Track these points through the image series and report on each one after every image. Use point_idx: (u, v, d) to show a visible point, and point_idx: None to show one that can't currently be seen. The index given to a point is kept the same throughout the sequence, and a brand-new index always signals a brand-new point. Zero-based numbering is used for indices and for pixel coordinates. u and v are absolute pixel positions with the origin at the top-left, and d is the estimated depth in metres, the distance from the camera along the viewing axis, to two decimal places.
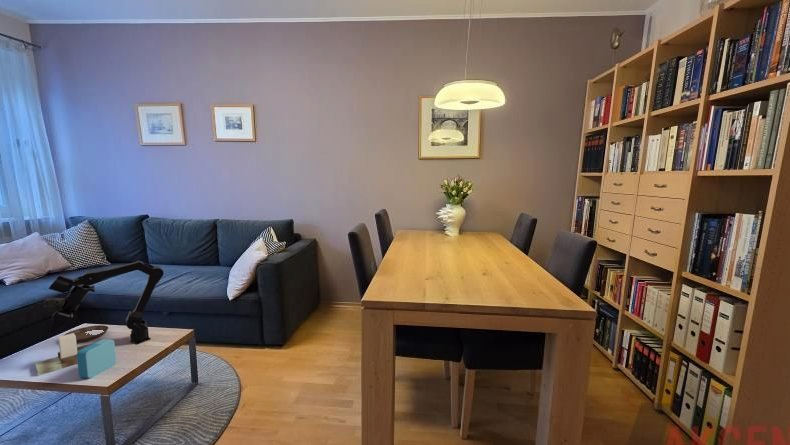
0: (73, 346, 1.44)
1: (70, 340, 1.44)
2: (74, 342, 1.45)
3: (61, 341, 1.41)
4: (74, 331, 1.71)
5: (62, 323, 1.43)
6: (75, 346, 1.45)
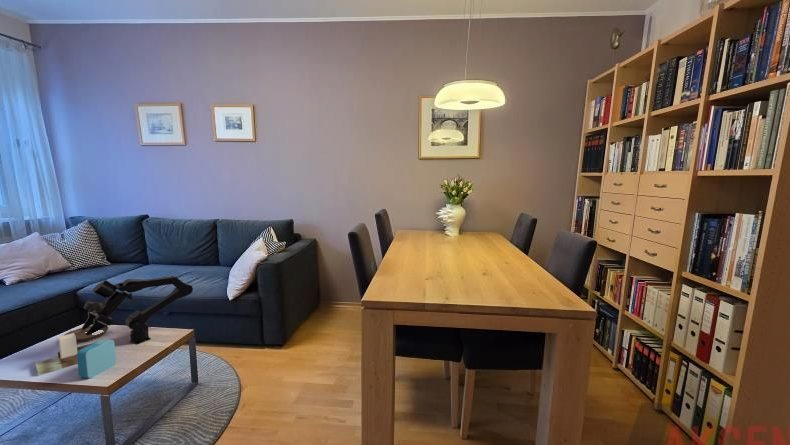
0: (73, 346, 1.44)
1: (70, 340, 1.44)
2: (74, 342, 1.45)
3: (61, 341, 1.41)
4: (74, 331, 1.71)
5: (100, 327, 1.48)
6: (75, 346, 1.45)
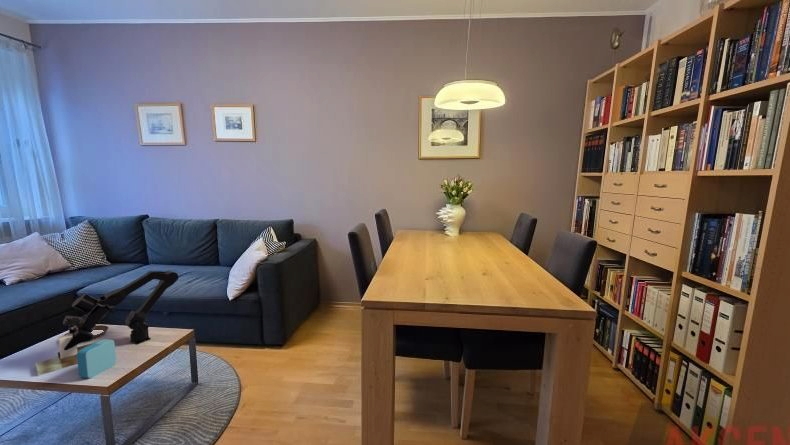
0: None
1: None
2: None
3: (61, 341, 1.41)
4: None
5: (79, 341, 1.45)
6: (75, 346, 1.45)
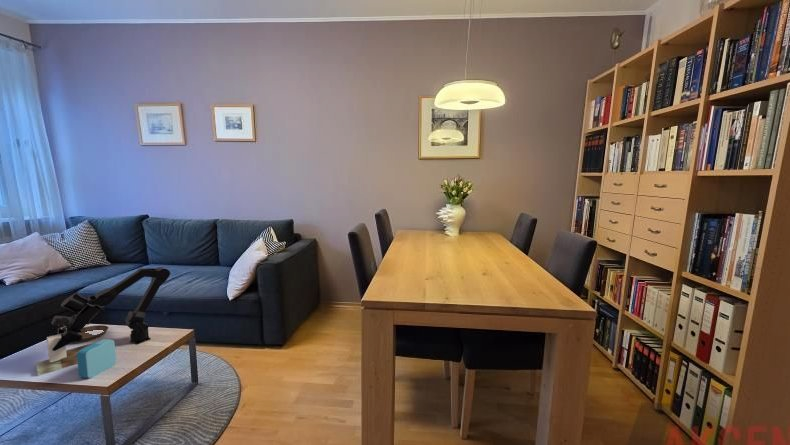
0: (62, 347, 1.42)
1: None
2: None
3: (49, 341, 1.38)
4: None
5: (68, 341, 1.42)
6: (64, 347, 1.42)
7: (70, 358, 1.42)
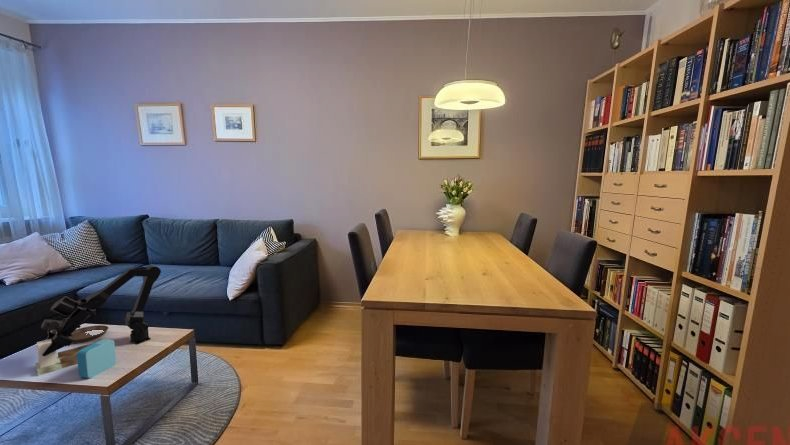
0: (52, 352, 1.39)
1: None
2: None
3: (39, 347, 1.36)
4: (74, 331, 1.71)
5: (59, 346, 1.39)
6: (54, 352, 1.40)
7: (70, 358, 1.42)
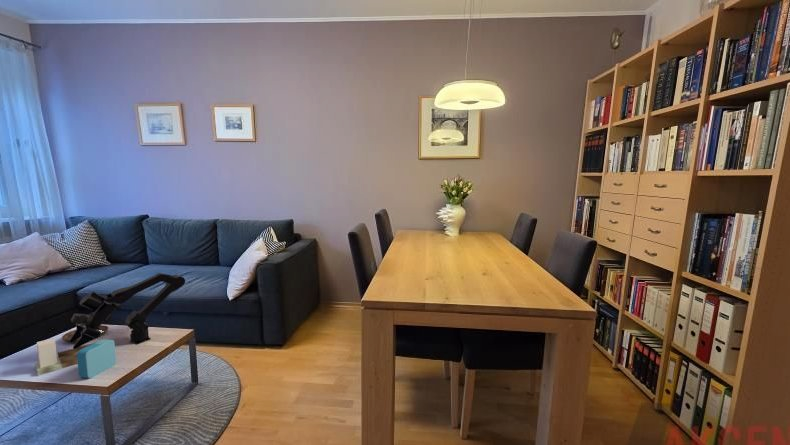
0: (52, 352, 1.39)
1: (49, 346, 1.39)
2: (53, 348, 1.40)
3: (39, 347, 1.36)
4: (74, 331, 1.71)
5: (88, 339, 1.45)
6: (54, 352, 1.40)
7: (70, 358, 1.42)
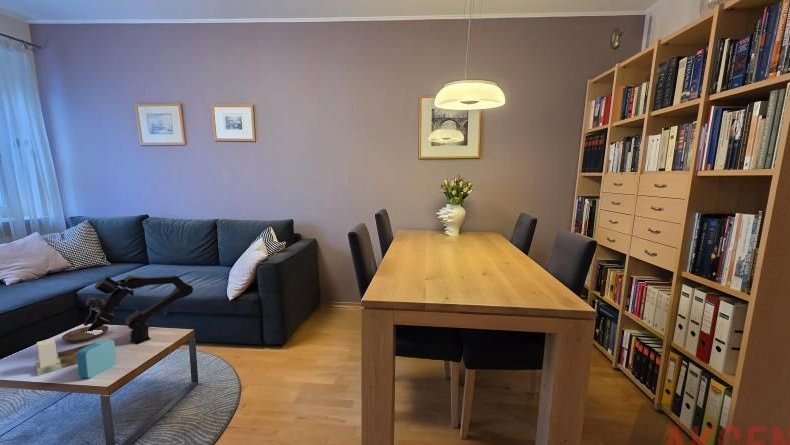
0: (52, 352, 1.39)
1: (49, 346, 1.39)
2: (53, 348, 1.40)
3: (39, 347, 1.36)
4: (74, 331, 1.71)
5: (102, 323, 1.49)
6: (54, 352, 1.40)
7: (70, 358, 1.42)
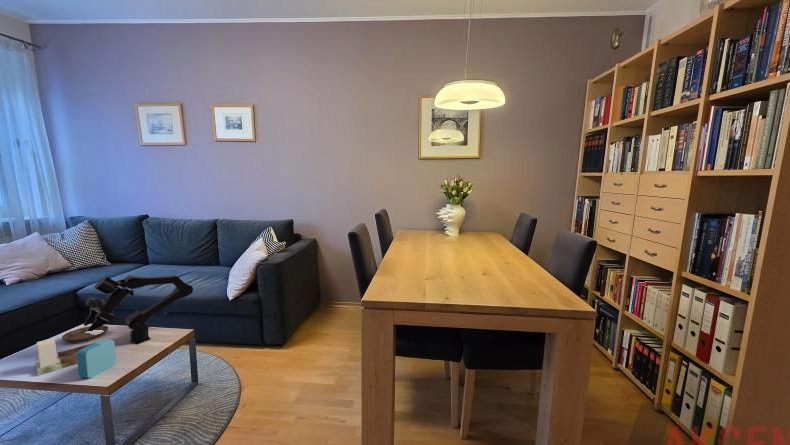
0: (52, 352, 1.39)
1: (49, 346, 1.39)
2: (53, 348, 1.40)
3: (39, 347, 1.36)
4: (74, 331, 1.71)
5: (102, 323, 1.49)
6: (54, 352, 1.40)
7: (70, 358, 1.42)
